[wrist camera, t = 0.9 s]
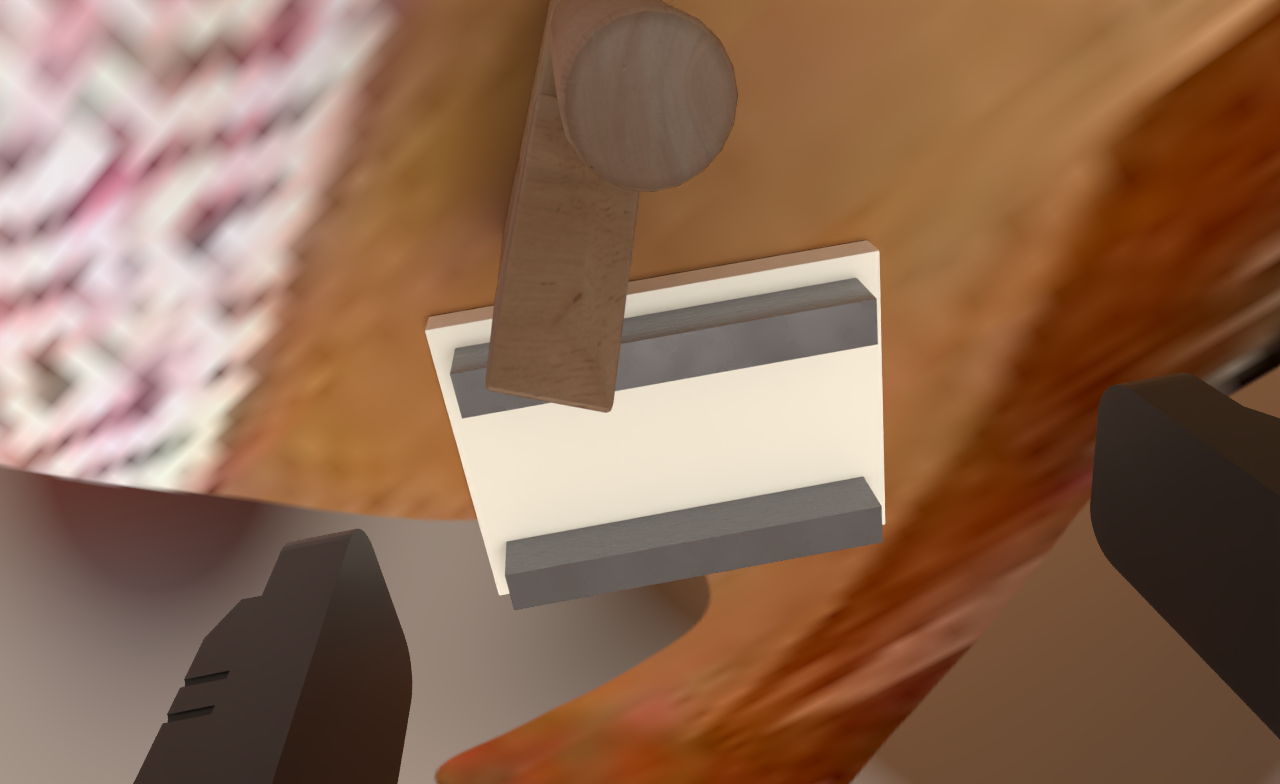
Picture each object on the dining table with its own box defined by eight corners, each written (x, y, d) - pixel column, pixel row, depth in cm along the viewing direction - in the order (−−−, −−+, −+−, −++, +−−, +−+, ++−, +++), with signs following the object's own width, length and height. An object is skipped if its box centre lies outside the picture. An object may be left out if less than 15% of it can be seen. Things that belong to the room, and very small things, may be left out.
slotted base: (428, 316, 38) (417, 355, 34) (867, 240, 38) (901, 270, 35) (500, 575, 44) (497, 631, 41) (874, 506, 45) (904, 555, 41)
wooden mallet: (501, 238, 37) (474, 468, 21) (557, -43, 32) (579, -31, 16) (588, 257, 37) (627, 493, 21) (655, -15, 33) (768, 23, 17)
